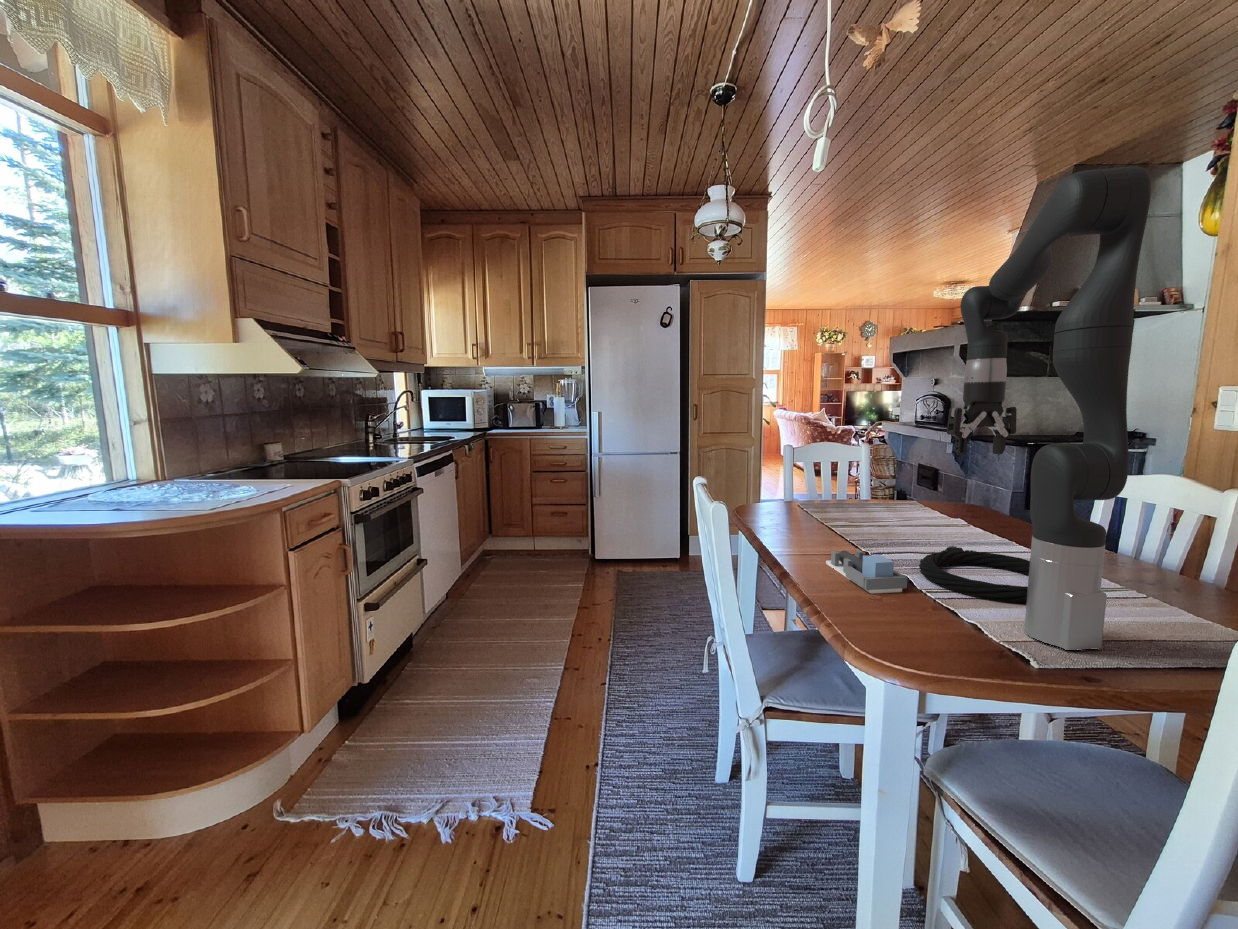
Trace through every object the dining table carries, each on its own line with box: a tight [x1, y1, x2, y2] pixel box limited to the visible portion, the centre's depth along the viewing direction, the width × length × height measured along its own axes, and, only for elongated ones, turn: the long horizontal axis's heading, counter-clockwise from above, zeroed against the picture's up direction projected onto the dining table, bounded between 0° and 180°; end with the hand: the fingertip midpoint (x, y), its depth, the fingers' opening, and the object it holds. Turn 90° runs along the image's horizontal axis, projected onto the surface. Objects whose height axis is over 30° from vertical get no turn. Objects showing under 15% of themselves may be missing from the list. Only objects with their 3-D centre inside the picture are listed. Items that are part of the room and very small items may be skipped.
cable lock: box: [918, 545, 1030, 605], centre depth 116 cm, size 28×4×30 cm
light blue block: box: [838, 550, 895, 577], centre depth 119 cm, size 17×4×6 cm, turn 4°
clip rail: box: [825, 549, 908, 595], centre depth 119 cm, size 20×9×4 cm, turn 4°
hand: (979, 454), depth 115 cm, fingers open, 8 cm apart
